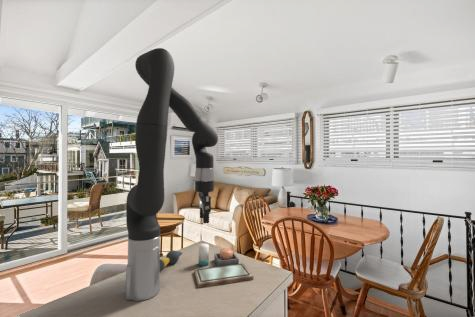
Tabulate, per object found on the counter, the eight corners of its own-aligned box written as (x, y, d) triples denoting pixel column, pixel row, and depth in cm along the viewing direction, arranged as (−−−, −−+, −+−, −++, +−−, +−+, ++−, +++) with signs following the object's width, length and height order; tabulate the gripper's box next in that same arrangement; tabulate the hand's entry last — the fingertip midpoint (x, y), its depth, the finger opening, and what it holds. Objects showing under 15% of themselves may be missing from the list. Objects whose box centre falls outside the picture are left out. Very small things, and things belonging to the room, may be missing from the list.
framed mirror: (198, 287, 75) (198, 283, 75) (193, 272, 85) (194, 268, 85) (253, 279, 80) (253, 275, 80) (243, 266, 91) (243, 262, 91)
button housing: (218, 268, 89) (218, 261, 89) (214, 259, 97) (214, 253, 97) (238, 265, 91) (238, 258, 91) (232, 257, 99) (232, 251, 99)
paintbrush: (149, 282, 78) (149, 266, 78) (138, 279, 80) (138, 264, 80) (184, 260, 97) (184, 247, 97) (174, 258, 98) (175, 246, 99)
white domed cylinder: (199, 267, 90) (199, 247, 90) (197, 262, 93) (198, 244, 94) (209, 265, 91) (209, 246, 91) (207, 261, 95) (207, 243, 95)
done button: (221, 260, 91) (221, 254, 91) (218, 255, 96) (218, 249, 96) (234, 259, 92) (234, 252, 92) (230, 254, 97) (230, 248, 97)
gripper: (192, 178, 99) (192, 217, 98) (197, 181, 85) (197, 225, 85) (210, 178, 101) (210, 215, 100) (217, 180, 87) (217, 224, 87)
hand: (204, 220), depth 93 cm, fingers open, 8 cm apart
